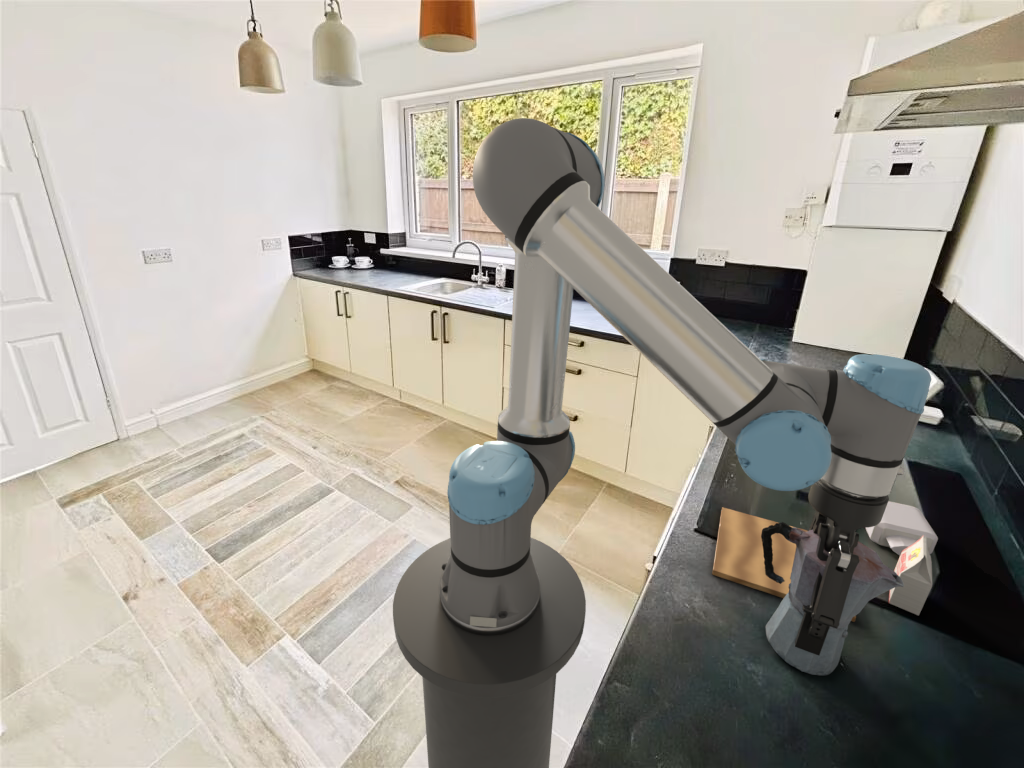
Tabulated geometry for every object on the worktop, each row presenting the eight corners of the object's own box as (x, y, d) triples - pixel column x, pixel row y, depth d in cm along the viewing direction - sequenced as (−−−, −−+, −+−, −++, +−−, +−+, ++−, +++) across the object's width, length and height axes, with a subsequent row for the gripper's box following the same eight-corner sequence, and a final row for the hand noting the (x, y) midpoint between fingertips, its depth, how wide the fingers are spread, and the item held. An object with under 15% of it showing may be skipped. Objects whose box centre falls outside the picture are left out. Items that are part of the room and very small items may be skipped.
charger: (878, 563, 80) (857, 515, 93) (944, 580, 77) (913, 528, 90) (886, 541, 79) (864, 495, 92) (954, 557, 75) (921, 508, 88)
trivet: (711, 574, 77) (713, 569, 77) (721, 511, 94) (722, 507, 93) (854, 622, 69) (856, 617, 68) (836, 543, 85) (838, 538, 85)
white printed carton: (919, 590, 75) (940, 540, 71) (918, 615, 70) (942, 563, 66) (890, 578, 77) (910, 530, 74) (888, 602, 72) (909, 552, 69)
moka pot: (862, 707, 57) (916, 582, 49) (730, 640, 65) (760, 524, 58) (864, 653, 64) (912, 536, 57) (745, 598, 72) (773, 491, 65)
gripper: (914, 545, 45) (848, 704, 53) (872, 453, 62) (827, 583, 70) (824, 521, 48) (775, 674, 56) (808, 440, 65) (772, 566, 73)
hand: (804, 623), depth 63 cm, fingers closed on moka pot, 8 cm apart
